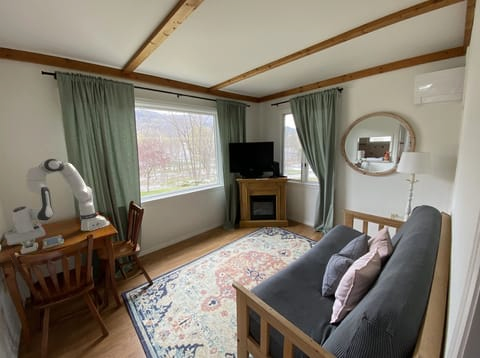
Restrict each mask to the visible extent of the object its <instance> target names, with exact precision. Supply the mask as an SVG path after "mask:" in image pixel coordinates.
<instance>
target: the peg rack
mask: <svg viewBox="0 0 480 358" xmlns="http://www.w3.org/2000/svg"><path fill="white" fill-rule="evenodd" d="M45 239H47V237H46V238H45ZM57 240H58V243H55V244H51V245H47V242H46V241H45V242H44V245H43V246H42V250H44V249H48V248H51V247H56V246H59V245H63V244H64V241H65V240H64V238H62V242H61V240H60V238H58V239H57Z"/></svg>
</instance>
